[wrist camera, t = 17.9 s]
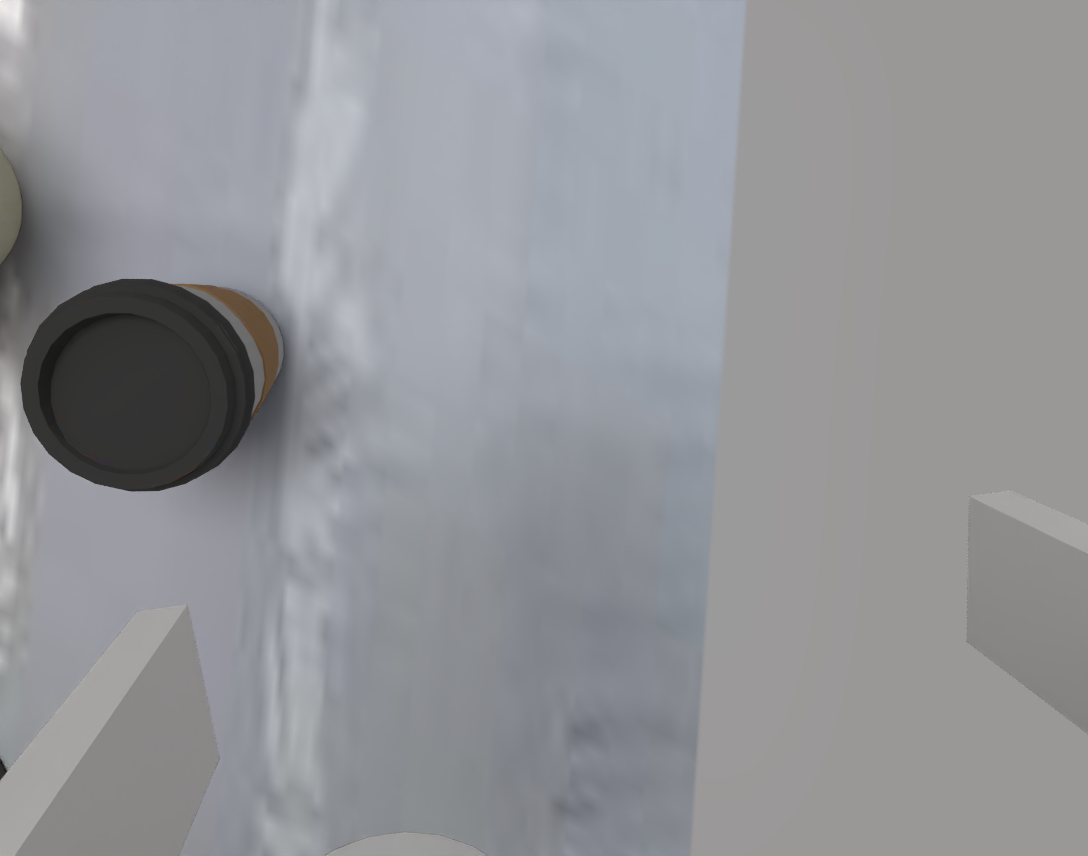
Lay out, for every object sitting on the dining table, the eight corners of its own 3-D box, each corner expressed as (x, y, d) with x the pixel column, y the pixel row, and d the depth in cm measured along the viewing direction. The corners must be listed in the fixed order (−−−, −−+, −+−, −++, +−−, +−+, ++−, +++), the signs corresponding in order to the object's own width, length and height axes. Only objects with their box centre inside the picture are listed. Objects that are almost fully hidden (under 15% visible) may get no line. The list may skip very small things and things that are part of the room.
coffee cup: (109, 331, 45) (-48, 375, 31) (232, 235, 45) (133, 233, 30) (217, 451, 47) (118, 546, 33) (336, 360, 47) (289, 414, 32)
